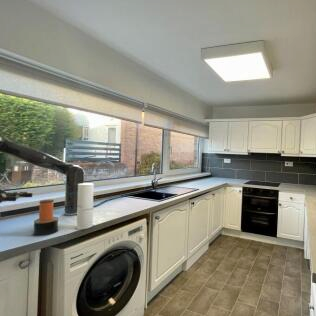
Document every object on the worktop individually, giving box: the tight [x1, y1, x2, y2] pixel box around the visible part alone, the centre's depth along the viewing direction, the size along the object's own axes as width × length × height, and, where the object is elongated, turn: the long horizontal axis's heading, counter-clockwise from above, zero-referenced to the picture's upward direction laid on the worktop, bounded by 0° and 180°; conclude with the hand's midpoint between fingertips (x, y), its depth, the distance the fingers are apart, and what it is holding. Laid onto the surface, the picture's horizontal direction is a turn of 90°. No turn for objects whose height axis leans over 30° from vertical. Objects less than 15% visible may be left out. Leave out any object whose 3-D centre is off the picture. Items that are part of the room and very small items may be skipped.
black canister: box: [33, 216, 59, 237], centre depth 103 cm, size 9×9×7 cm
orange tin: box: [38, 198, 55, 221], centre depth 103 cm, size 5×5×10 cm
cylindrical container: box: [76, 182, 95, 230], centre depth 113 cm, size 7×7×25 cm
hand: (24, 196), depth 102 cm, fingers open, 8 cm apart
